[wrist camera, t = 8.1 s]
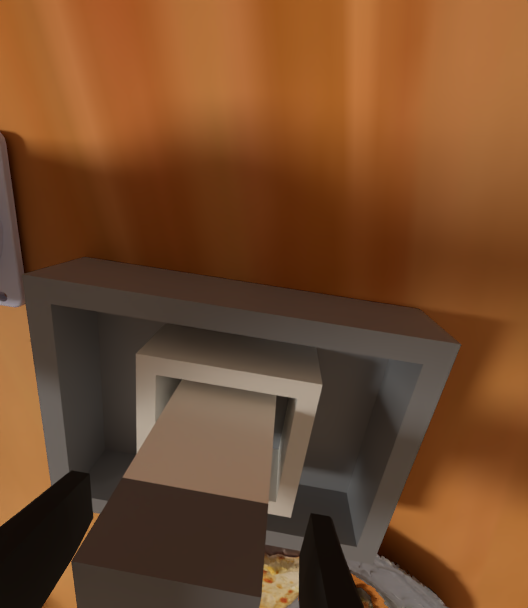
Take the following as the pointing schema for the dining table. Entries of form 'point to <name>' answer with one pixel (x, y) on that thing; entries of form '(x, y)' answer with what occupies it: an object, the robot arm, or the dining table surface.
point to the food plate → (381, 575)
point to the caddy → (239, 383)
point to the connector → (187, 509)
